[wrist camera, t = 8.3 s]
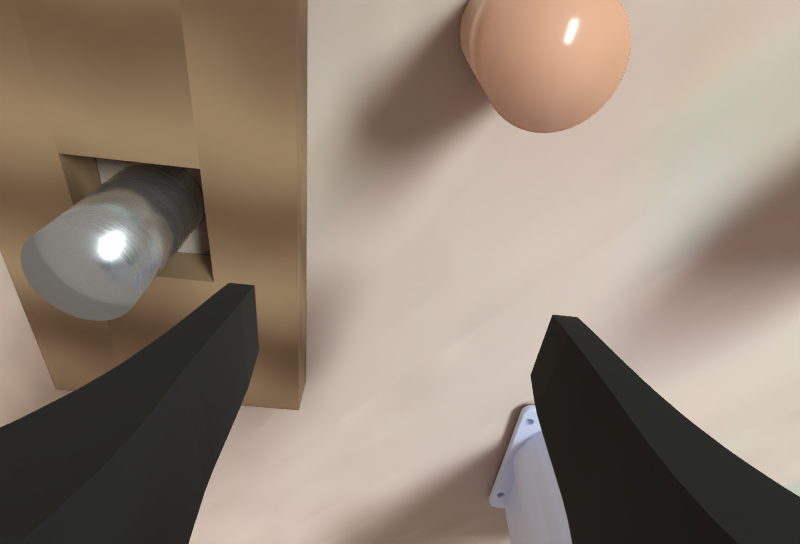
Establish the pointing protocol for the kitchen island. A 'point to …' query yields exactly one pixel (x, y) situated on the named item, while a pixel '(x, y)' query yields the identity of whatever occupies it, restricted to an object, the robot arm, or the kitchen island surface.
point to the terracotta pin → (546, 57)
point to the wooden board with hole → (163, 161)
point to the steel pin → (113, 241)
